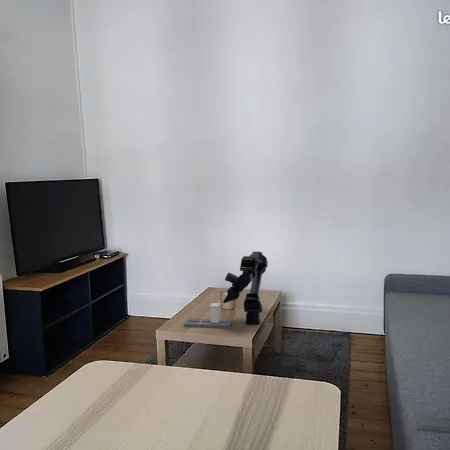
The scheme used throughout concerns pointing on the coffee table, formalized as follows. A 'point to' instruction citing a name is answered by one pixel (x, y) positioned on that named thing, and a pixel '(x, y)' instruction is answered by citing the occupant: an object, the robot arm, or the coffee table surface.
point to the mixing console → (207, 323)
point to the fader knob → (215, 312)
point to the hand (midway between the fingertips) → (225, 299)
